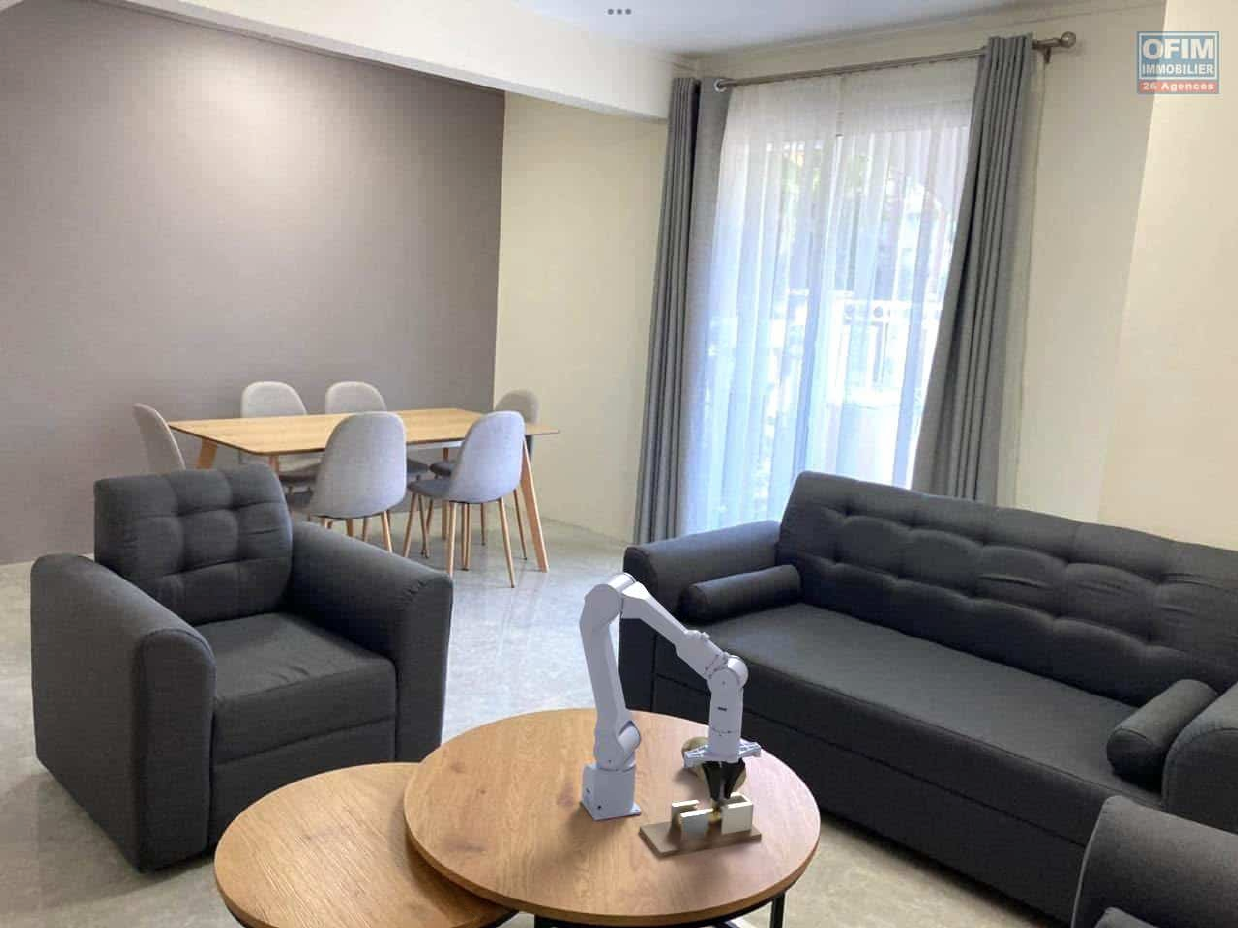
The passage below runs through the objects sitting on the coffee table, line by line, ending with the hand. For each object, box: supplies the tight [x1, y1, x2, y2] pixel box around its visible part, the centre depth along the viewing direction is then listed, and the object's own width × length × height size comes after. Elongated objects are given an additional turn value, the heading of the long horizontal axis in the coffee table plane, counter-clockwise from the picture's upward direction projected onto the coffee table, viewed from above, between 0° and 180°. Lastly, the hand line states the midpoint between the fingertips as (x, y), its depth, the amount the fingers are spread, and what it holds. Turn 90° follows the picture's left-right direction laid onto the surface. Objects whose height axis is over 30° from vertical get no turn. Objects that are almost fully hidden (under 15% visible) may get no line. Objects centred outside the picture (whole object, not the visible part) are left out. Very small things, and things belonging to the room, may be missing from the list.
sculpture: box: [680, 736, 748, 793], centre depth 198 cm, size 9×17×10 cm
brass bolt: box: [675, 778, 726, 830], centre depth 178 cm, size 11×3×9 cm, turn 112°
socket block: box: [709, 791, 754, 834], centre depth 180 cm, size 6×5×5 cm
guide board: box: [638, 799, 763, 859], centre depth 178 cm, size 20×9×6 cm, turn 112°
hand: (719, 797), depth 178 cm, fingers closed on brass bolt, 2 cm apart
